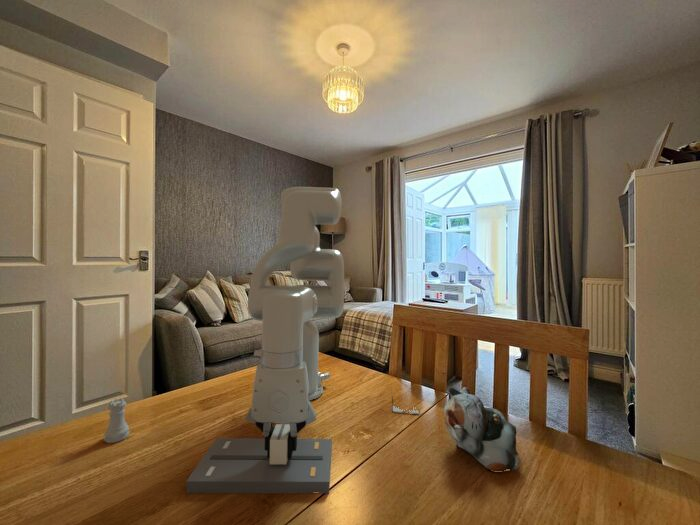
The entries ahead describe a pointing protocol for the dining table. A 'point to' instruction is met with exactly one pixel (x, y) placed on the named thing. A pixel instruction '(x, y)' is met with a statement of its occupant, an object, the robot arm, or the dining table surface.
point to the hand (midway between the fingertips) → (280, 452)
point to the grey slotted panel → (262, 468)
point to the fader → (279, 444)
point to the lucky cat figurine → (481, 431)
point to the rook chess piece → (116, 422)
